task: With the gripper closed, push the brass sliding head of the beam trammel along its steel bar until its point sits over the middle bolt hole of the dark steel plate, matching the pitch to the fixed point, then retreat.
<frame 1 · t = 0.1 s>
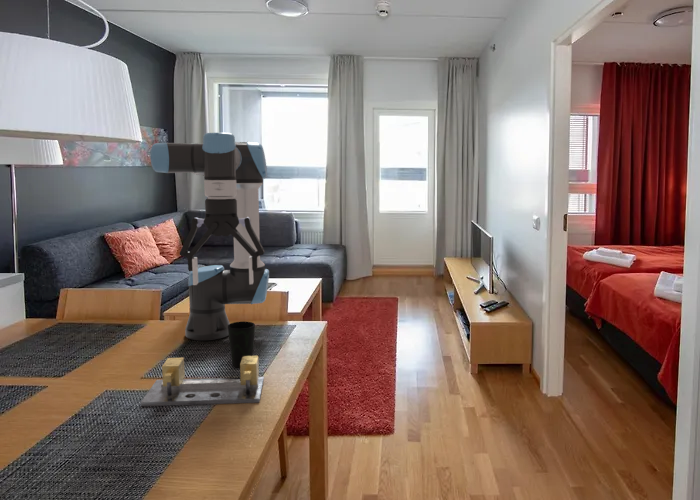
hand: (223, 283, 135), 28 cm above the table, fingers open, 13 cm apart
cup: (242, 365, 157), on the table
bolt plate: (205, 392, 138), on the table
trammel bar: (208, 376, 137), on the bolt plate, point 4 cm above the table
sliding head: (172, 376, 136), point 5 cm above the table, slide at -8.0 cm
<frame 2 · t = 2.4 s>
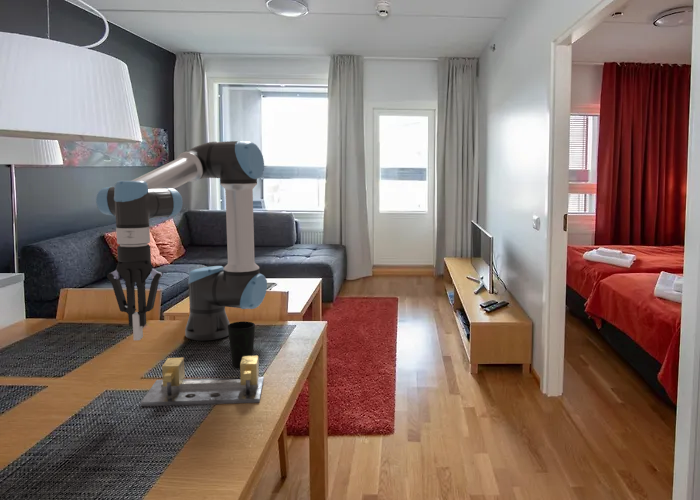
hand: (138, 338, 135), 14 cm above the table, fingers closed
nothing on the table moved.
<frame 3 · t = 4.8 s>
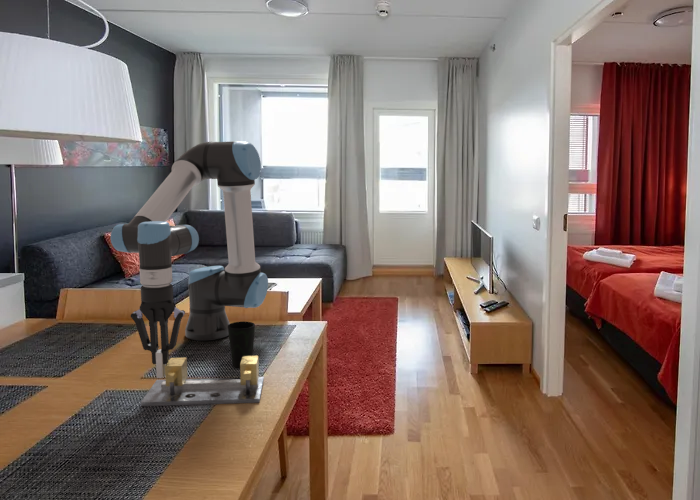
hand: (161, 375, 138), 4 cm above the table, fingers closed
sliding head: (175, 376, 136), point 5 cm above the table, slide at -7.3 cm, touching gripper
everything else where it was.
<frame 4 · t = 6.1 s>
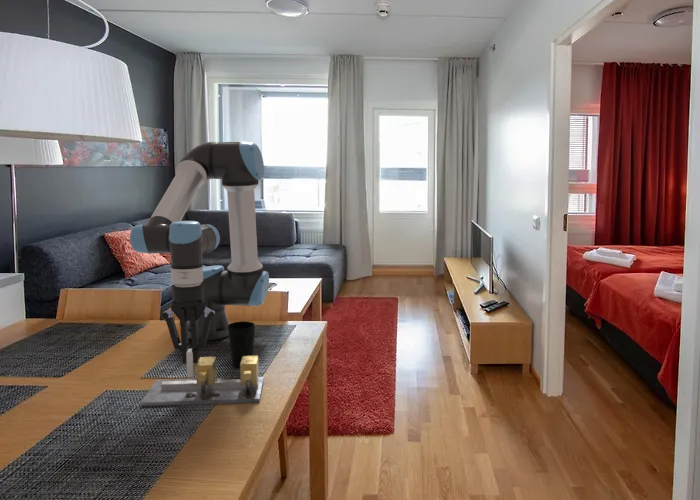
hand: (191, 374, 138), 4 cm above the table, fingers closed
sliding head: (205, 376, 137), point 5 cm above the table, slide at 0.2 cm, touching gripper
everything else where it was.
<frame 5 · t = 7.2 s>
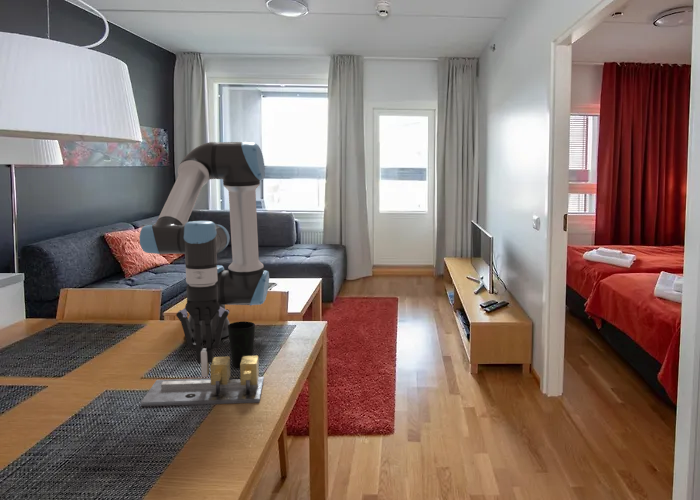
hand: (205, 374, 138), 4 cm above the table, fingers closed
sliding head: (219, 375, 137), point 5 cm above the table, slide at 3.7 cm, touching gripper
everything else where it was.
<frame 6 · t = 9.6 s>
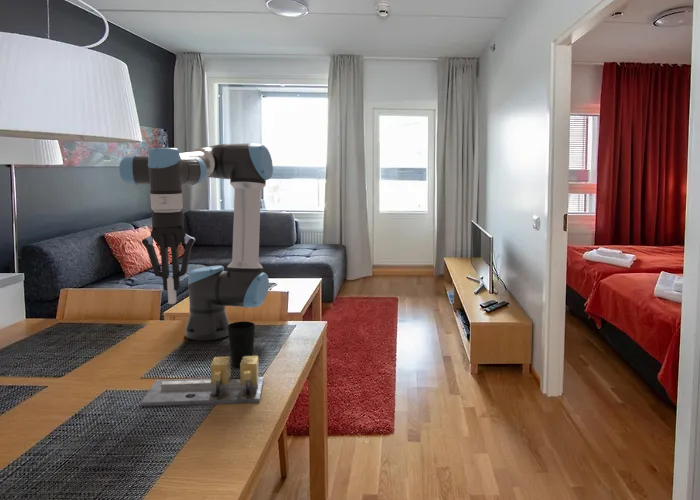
hand: (172, 302, 140), 22 cm above the table, fingers closed
sliding head: (219, 375, 137), point 5 cm above the table, slide at 3.8 cm
everything else where it was.
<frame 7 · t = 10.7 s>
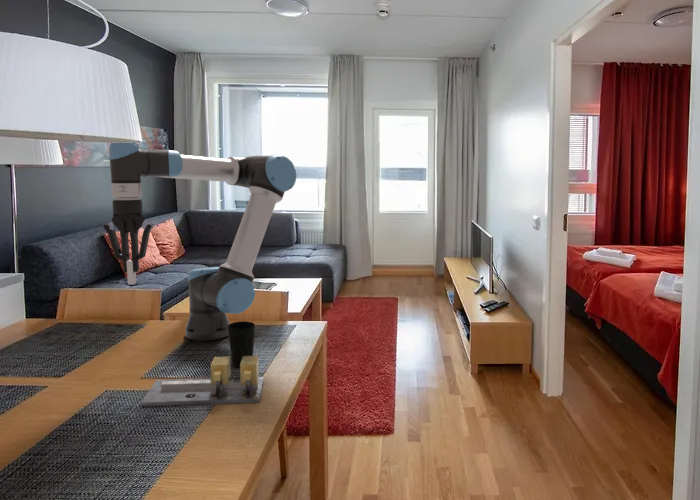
hand: (132, 283, 152), 24 cm above the table, fingers closed
nothing on the table moved.
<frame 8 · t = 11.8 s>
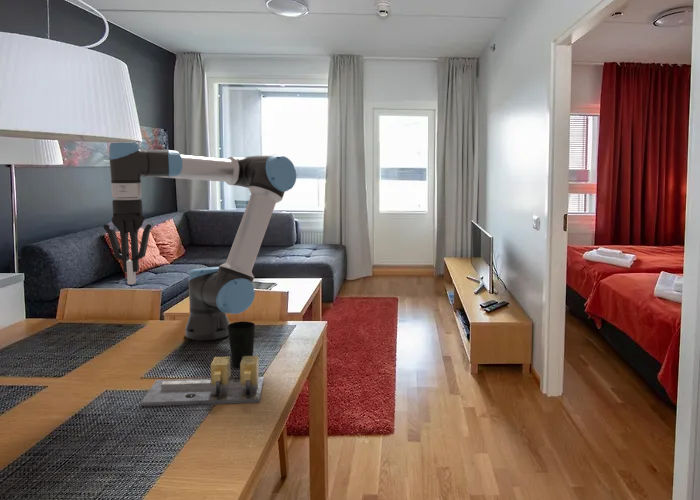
hand: (131, 283, 152), 24 cm above the table, fingers closed
nothing on the table moved.
at the end: sliding head slide at 3.8 cm; sliding head touching nothing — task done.
